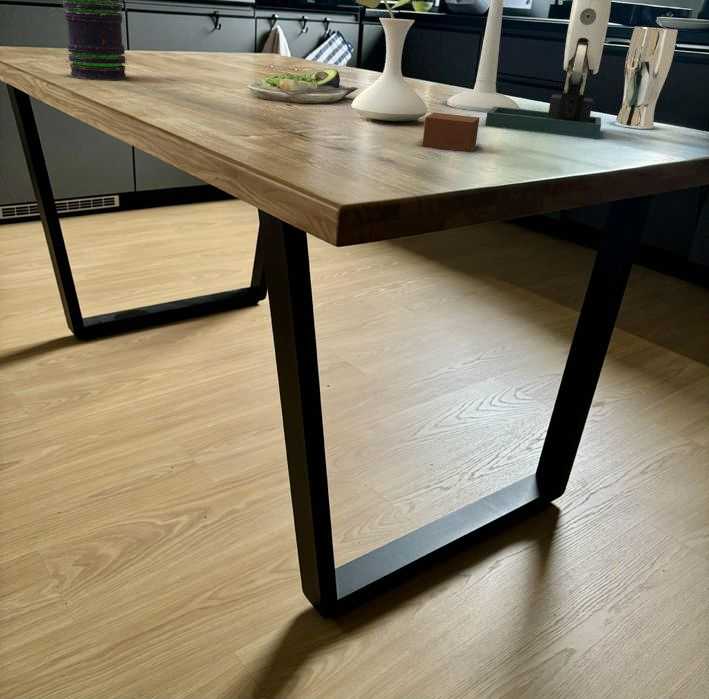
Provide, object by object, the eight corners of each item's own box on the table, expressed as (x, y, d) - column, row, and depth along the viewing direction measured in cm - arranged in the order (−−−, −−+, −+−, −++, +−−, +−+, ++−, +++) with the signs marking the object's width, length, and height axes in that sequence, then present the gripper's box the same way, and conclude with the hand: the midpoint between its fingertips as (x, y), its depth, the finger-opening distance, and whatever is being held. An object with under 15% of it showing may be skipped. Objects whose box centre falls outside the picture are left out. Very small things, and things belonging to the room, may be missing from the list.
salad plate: (338, 109, 114) (339, 78, 112) (231, 99, 117) (231, 68, 114) (361, 97, 131) (363, 70, 129) (268, 88, 134) (268, 61, 132)
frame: (598, 130, 112) (601, 117, 111) (598, 138, 105) (601, 124, 104) (492, 119, 116) (494, 106, 115) (485, 126, 108) (487, 112, 108)
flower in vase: (439, 121, 109) (461, -67, 98) (401, 129, 100) (420, -77, 90) (368, 110, 115) (381, -68, 104) (326, 116, 107) (335, -78, 96)
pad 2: (588, 122, 110) (593, 98, 109) (587, 126, 106) (592, 101, 104) (548, 117, 112) (552, 94, 110) (546, 121, 107) (551, 97, 106)
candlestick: (444, 108, 125) (468, -93, 112) (449, 99, 136) (470, -84, 123) (519, 114, 123) (551, -89, 110) (517, 106, 134) (546, -79, 121)
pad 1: (475, 145, 92) (479, 117, 91) (469, 151, 88) (473, 122, 87) (430, 140, 94) (433, 112, 92) (422, 146, 89) (425, 116, 88)
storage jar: (83, 80, 126) (74, -15, 119) (61, 73, 132) (51, -17, 126) (136, 79, 132) (130, -11, 125) (113, 73, 138) (106, -13, 132)
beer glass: (656, 131, 116) (680, 30, 109) (611, 126, 118) (633, 26, 111) (654, 125, 122) (677, 29, 115) (612, 121, 124) (632, 26, 117)
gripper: (623, -14, 92) (593, 131, 100) (620, -10, 107) (594, 116, 115) (564, -18, 94) (539, 124, 102) (569, -14, 109) (546, 111, 117)
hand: (568, 119), depth 109 cm, fingers closed on pad 2, 4 cm apart
